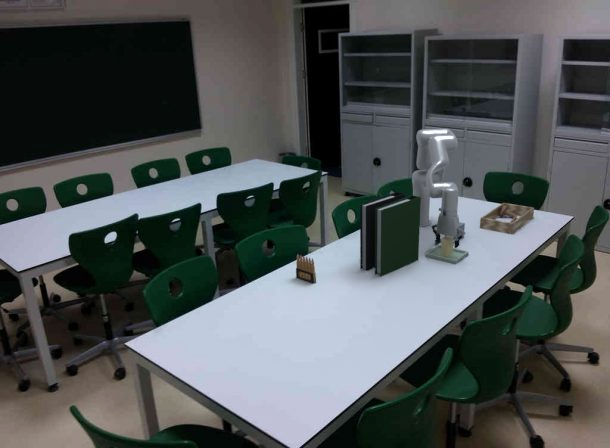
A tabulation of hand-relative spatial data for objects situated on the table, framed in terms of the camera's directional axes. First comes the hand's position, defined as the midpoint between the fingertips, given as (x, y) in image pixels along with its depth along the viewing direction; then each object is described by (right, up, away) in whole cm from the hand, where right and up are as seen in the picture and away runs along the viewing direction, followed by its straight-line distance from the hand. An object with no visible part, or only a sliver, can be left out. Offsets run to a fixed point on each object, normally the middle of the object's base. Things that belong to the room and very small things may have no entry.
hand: (447, 245), depth 263 cm
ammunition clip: (-69, -16, -19) cm, 74 cm away
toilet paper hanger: (+45, +11, +45) cm, 65 cm away
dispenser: (+6, +1, +20) cm, 21 cm away
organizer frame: (+46, +11, +44) cm, 64 cm away
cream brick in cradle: (0, -5, +2) cm, 5 cm away
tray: (0, -5, +2) cm, 6 cm away
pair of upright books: (-30, -9, -5) cm, 31 cm away
